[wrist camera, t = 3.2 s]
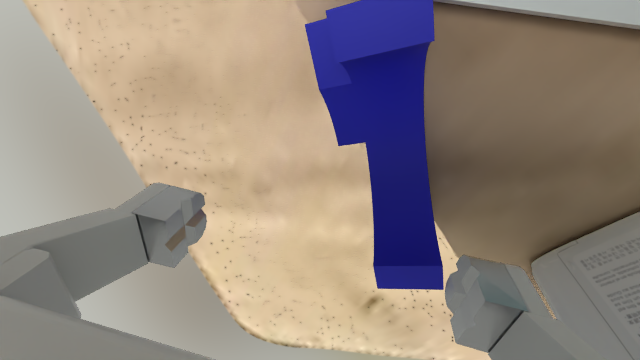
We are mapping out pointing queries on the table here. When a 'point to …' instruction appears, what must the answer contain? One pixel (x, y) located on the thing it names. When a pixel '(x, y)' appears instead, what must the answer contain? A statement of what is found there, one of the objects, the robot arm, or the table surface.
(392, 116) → the blue curved cradle
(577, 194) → the table surface
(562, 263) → the photo printer
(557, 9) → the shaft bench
